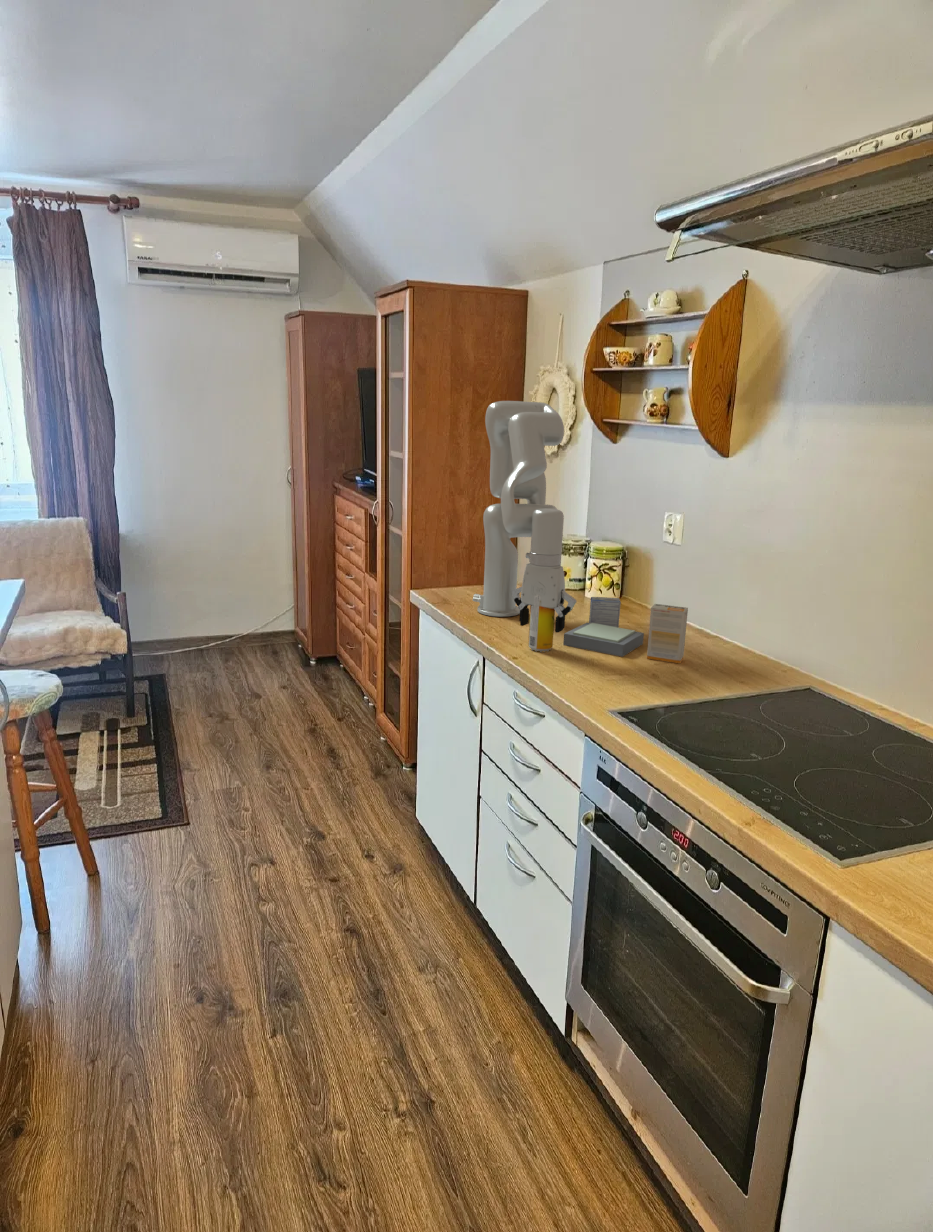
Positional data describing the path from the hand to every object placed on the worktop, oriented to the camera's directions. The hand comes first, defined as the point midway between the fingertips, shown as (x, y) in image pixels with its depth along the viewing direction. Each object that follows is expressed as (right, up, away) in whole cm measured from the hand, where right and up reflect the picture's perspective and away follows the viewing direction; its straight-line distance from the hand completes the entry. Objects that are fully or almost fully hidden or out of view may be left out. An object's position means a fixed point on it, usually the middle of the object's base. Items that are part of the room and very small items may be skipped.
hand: (541, 628), depth 202 cm
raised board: (+17, -4, +7) cm, 19 cm away
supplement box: (+30, -8, -3) cm, 31 cm away
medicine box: (+19, -1, +22) cm, 29 cm away
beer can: (0, -5, +1) cm, 6 cm away
